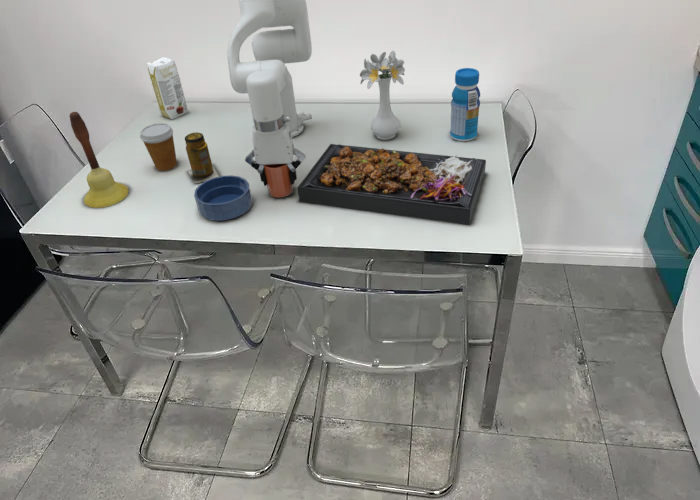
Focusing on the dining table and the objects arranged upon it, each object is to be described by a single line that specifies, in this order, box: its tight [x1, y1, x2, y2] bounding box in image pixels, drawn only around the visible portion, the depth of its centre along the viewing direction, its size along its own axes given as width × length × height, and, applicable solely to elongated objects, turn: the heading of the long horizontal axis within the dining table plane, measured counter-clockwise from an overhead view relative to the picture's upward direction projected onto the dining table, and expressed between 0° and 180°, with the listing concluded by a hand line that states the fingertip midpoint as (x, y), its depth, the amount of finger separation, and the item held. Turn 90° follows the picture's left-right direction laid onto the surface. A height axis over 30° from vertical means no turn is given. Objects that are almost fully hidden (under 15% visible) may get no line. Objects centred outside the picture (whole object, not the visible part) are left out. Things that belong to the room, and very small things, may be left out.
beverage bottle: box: [449, 67, 481, 142], centre depth 166 cm, size 8×8×20 cm
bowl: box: [193, 174, 253, 222], centre depth 149 cm, size 14×14×6 cm
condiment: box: [184, 131, 220, 184], centre depth 161 cm, size 7×8×12 cm
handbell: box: [69, 111, 130, 209], centre depth 152 cm, size 12×12×25 cm
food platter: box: [297, 143, 487, 226], centre depth 149 cm, size 45×25×10 cm, turn 71°
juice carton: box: [146, 56, 189, 120], centre depth 195 cm, size 8×9×19 cm
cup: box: [264, 164, 294, 198], centre depth 151 cm, size 7×7×9 cm
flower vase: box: [359, 50, 406, 141], centre depth 169 cm, size 13×18×25 cm
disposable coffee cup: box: [139, 122, 178, 172], centre depth 167 cm, size 10×10×12 cm
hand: (279, 182), depth 152 cm, fingers closed on cup, 6 cm apart
